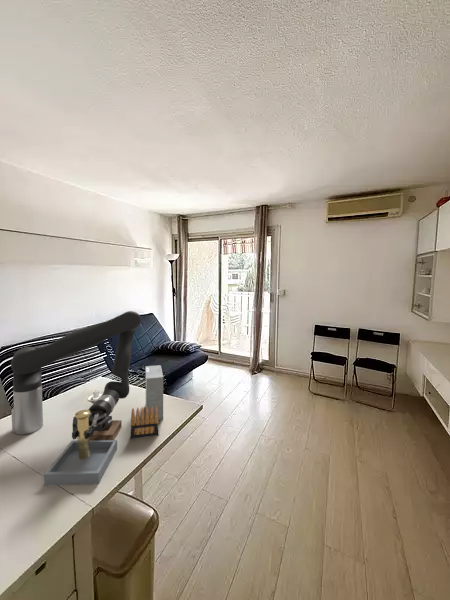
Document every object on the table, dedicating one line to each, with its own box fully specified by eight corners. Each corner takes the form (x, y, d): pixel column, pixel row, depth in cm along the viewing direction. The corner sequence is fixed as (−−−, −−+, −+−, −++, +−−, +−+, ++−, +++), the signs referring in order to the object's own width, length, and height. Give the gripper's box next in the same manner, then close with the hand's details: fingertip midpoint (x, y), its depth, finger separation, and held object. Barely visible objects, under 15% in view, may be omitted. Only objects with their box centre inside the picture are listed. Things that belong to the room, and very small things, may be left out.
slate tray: (44, 485, 78) (43, 474, 77) (72, 449, 94) (71, 440, 93) (98, 483, 79) (98, 473, 78) (117, 449, 95) (117, 440, 94)
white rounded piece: (99, 403, 129) (99, 395, 128) (83, 402, 129) (83, 394, 129) (107, 395, 138) (107, 387, 137) (93, 394, 138) (93, 387, 137)
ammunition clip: (158, 432, 105) (158, 404, 104) (158, 435, 104) (158, 406, 102) (130, 435, 103) (130, 407, 102) (130, 438, 101) (130, 409, 100)
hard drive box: (145, 405, 127) (145, 366, 125) (161, 403, 130) (161, 364, 128) (145, 422, 112) (145, 378, 111) (163, 419, 115) (164, 376, 113)
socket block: (85, 442, 98) (85, 435, 97) (97, 427, 108) (97, 420, 107) (112, 442, 98) (112, 434, 98) (121, 427, 108) (121, 420, 108)
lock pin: (73, 461, 83) (72, 416, 82) (80, 451, 88) (79, 409, 86) (88, 460, 83) (86, 416, 82) (93, 451, 88) (92, 409, 86)
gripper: (82, 399, 99) (56, 425, 81) (120, 399, 100) (102, 425, 82) (83, 418, 99) (57, 448, 82) (120, 417, 100) (102, 447, 83)
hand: (80, 436), depth 82 cm, fingers closed on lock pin, 3 cm apart
